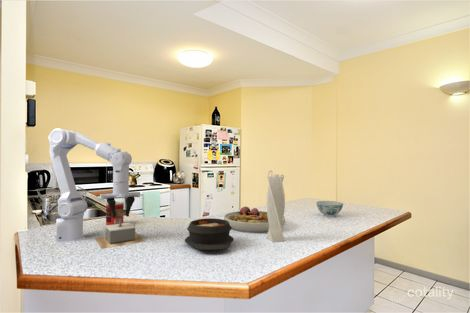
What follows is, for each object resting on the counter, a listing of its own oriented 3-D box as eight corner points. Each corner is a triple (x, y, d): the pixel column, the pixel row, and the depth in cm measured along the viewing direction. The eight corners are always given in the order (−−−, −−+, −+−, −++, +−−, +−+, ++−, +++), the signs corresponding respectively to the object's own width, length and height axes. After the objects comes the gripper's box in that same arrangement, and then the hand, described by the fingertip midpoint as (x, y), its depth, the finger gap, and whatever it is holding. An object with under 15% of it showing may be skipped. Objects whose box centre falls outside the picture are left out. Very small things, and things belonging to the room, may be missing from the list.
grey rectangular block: (110, 244, 99) (110, 230, 99) (105, 238, 106) (105, 225, 106) (137, 240, 105) (137, 226, 105) (131, 234, 112) (131, 222, 112)
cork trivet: (101, 250, 94) (101, 248, 94) (94, 239, 107) (94, 238, 107) (147, 242, 103) (147, 241, 103) (135, 233, 116) (135, 232, 116)
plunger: (112, 232, 100) (112, 212, 101) (108, 228, 106) (109, 209, 106) (131, 229, 104) (132, 210, 105) (127, 226, 110) (127, 208, 110)
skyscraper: (262, 237, 111) (262, 170, 112) (278, 236, 114) (278, 170, 114) (271, 243, 104) (272, 171, 104) (288, 241, 106) (288, 170, 107)
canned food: (126, 223, 135) (126, 201, 135) (117, 227, 127) (118, 204, 127) (111, 223, 135) (112, 201, 136) (102, 227, 127) (102, 203, 128)
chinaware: (345, 215, 161) (345, 202, 161) (340, 219, 148) (340, 205, 148) (319, 212, 169) (319, 200, 169) (313, 216, 156) (313, 203, 156)
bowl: (297, 231, 124) (297, 214, 124) (237, 237, 113) (237, 218, 113) (266, 218, 152) (266, 204, 152) (215, 222, 141) (216, 207, 141)
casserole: (183, 236, 112) (183, 216, 112) (226, 234, 117) (226, 214, 117) (186, 257, 88) (187, 231, 88) (241, 253, 92) (241, 228, 93)
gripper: (102, 183, 98) (102, 220, 98) (142, 182, 107) (142, 216, 106) (99, 182, 104) (98, 217, 104) (137, 181, 112) (137, 213, 112)
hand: (120, 216), depth 105 cm, fingers open, 4 cm apart
